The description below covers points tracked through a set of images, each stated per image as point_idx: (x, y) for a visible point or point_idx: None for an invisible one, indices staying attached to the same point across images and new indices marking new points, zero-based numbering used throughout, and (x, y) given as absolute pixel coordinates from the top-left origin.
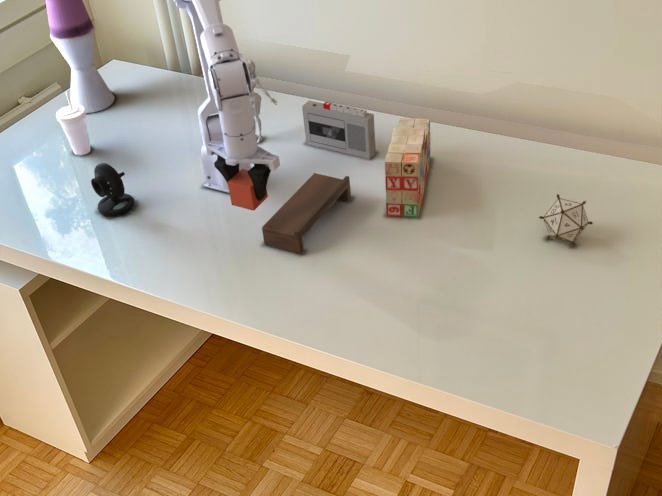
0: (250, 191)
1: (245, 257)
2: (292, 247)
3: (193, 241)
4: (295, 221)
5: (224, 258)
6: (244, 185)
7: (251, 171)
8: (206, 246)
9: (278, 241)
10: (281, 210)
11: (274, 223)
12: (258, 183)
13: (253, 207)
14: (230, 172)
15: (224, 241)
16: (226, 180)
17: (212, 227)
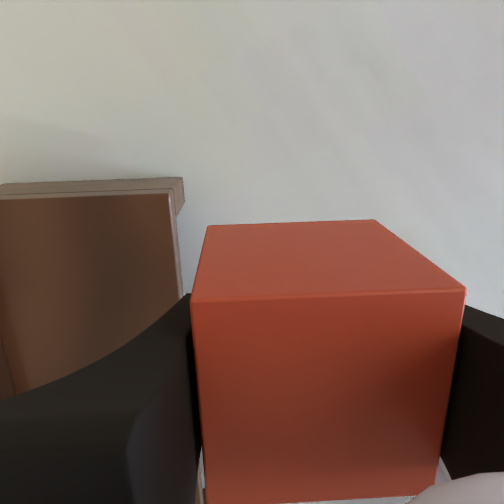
0: (197, 281)
1: (202, 60)
2: (27, 186)
3: (487, 60)
4: (49, 301)
5: (286, 8)
6: (268, 308)
7: (59, 483)
8: (412, 53)
9: (94, 185)
10: None
11: (130, 246)
12: (91, 366)
13: (206, 233)
14: (500, 400)
15: (354, 122)
16: (494, 319)
17: (451, 184)
